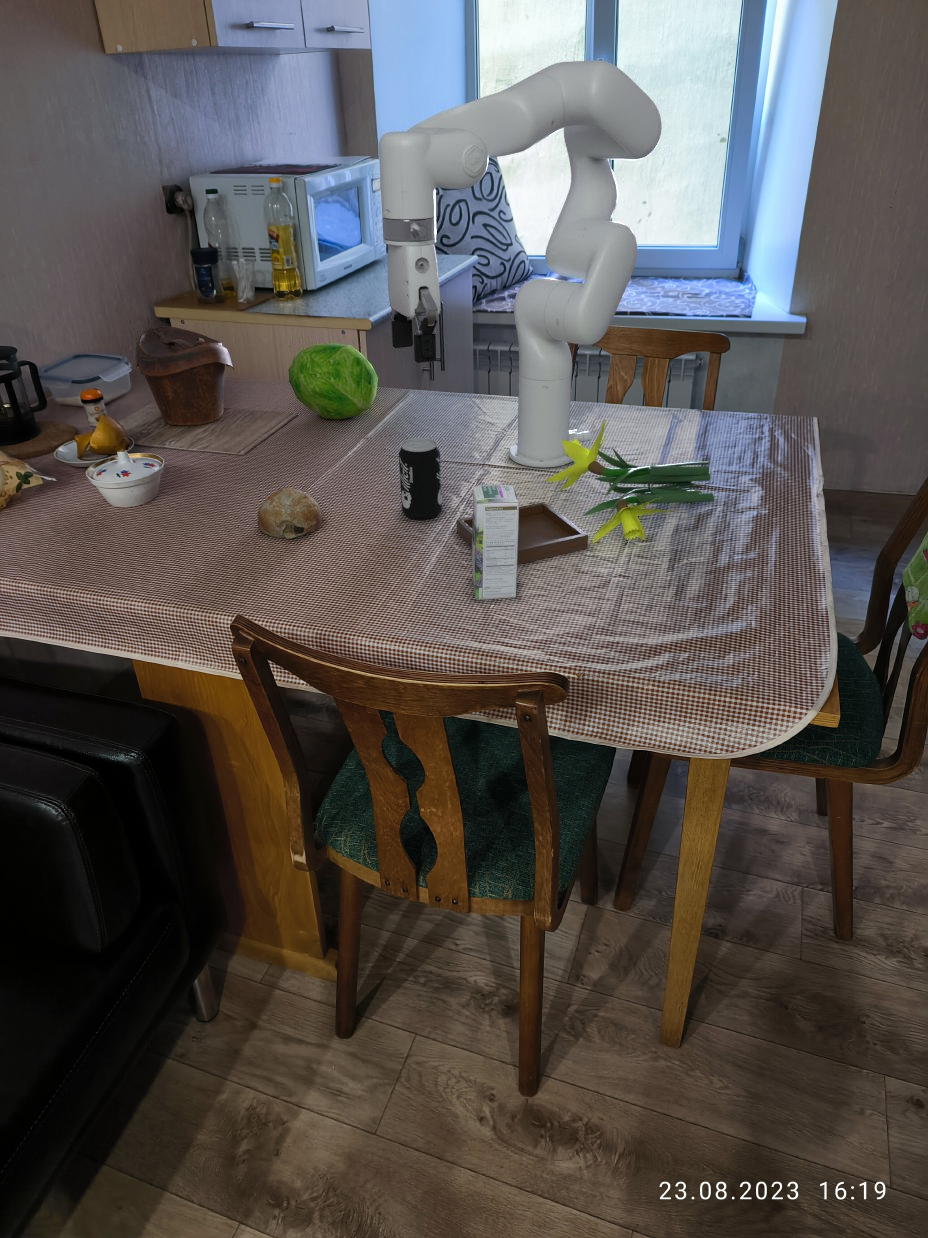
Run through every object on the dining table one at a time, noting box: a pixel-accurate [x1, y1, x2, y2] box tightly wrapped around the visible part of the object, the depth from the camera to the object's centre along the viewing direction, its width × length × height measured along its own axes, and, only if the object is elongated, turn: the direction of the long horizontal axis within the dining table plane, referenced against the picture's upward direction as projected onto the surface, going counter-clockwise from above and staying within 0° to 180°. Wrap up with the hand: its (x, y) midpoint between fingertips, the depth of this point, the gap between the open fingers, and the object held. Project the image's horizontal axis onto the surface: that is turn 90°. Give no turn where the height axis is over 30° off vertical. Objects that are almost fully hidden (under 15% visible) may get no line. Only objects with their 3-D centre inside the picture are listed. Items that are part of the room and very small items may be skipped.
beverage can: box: [398, 437, 443, 521], centre depth 138 cm, size 7×7×12 cm
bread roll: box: [256, 488, 323, 540], centre depth 137 cm, size 10×10×8 cm
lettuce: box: [288, 342, 379, 420], centre depth 181 cm, size 17×20×17 cm
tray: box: [456, 501, 589, 566], centre depth 132 cm, size 16×14×2 cm
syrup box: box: [471, 484, 520, 601], centre depth 116 cm, size 6×6×14 cm
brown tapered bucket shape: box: [134, 325, 236, 427], centre depth 181 cm, size 18×20×18 cm
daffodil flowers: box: [544, 419, 715, 544], centre depth 132 cm, size 17×15×35 cm
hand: (413, 353), depth 131 cm, fingers open, 9 cm apart
